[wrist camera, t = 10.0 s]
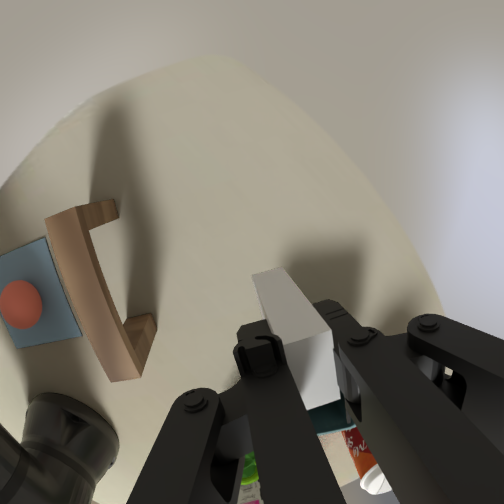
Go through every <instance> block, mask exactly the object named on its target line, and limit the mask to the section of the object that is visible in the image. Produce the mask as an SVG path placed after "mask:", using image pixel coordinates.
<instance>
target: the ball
mask: <svg viewBox="0 0 504 504" xmlns="http://www.w3.org/2000/svg"><path fill="white" fill-rule="evenodd" d="M0 310H1V313H2V315H3V317H4V319H5V320H6V322H7V323H8V324H10V325H11V326H13V327H14V328H17V329H27V328H30V327H32V326H33V325H35V324H36V323H37V321H38V320H39V318H40V316H41V312H42V300H41V297H40V294H39V292H38V291H37V289H36V288H35V287H34V286H33V285H32V284H30V283H29V282H26V281H23V280H16V281H13V282H11V283H9V284H8V285H7V286H6V287H5V288H4V289H3V291H2V293H1V296H0Z"/></svg>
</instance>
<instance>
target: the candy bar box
mask: <svg viewBox="0 0 504 504" xmlns="http://www.w3.org/2000/svg"><path fill="white" fill-rule="evenodd" d="M237 504H264V503H263V498H262V493H261V488H260V482H259V479H258V480H257V481H256V482H253V483H251V484H248V485H241V486H240V491H239V497H238V502H237Z"/></svg>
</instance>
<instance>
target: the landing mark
mask: <svg viewBox="0 0 504 504" xmlns="http://www.w3.org/2000/svg"><path fill="white" fill-rule="evenodd" d="M16 280H23V281H26V282H29V283H30V284H32V285H33V286H34V287H35V288H36V289H37V291H38V292H39V294H40V297H41V300H42V312H41V316H40V318H39V320H38V321H37V323H36V324H35V325H33V326H32V327H30V328H27V329H17V328H14V327H13V326H11V325H10V324H8V323H7V322H6V320H5V319H4V317H3V315H2V313H1V310H0V314H1V316H2V318H3V321H4V323H5V325H6V327H7V329H8V332H9V334H10V336H11V338H12V340H13V342H14V344H15V346H16V348H17V349H18V348H23V347H29V346H34V345H39V344H45V343H50V342H55V341H60V340H65V339H70V338H74V337H79V336H82V333H81V331H80V329H79V327H78V324H77V322H76V320H75V318H74V315H73V313H72V311H71V308H70V306H69V303H68V301H67V298H66V296H65V293H64V291H63V288H62V286H61V283H60V280H59V278H58V275H57V272H56V269H55V266H54V263H53V260H52V257H51V254H50V251H49V248H48V245H47V242H46V238H42V239H40V240H37V241H35V242H32V243H30V244H27V245H25V246H23V247H20V248H18V249H16V250H13V251H11V252H9V253H6V254H4V255H2V256H0V296H1V293H2V291H3V289H4V288H5V287H6V286H7V285H8V284H9V283H11V282H13V281H16Z"/></svg>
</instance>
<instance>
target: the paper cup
mask: <svg viewBox="0 0 504 504" xmlns="http://www.w3.org/2000/svg"><path fill="white" fill-rule="evenodd" d="M341 432H342V435H343V437H344V440H345V442H346V445H347V447H348V449H349V452H350V454H351V457H352V459H353V462H354V464H355V466H356V469H357V471H358V474H359V476H360V479H361V482H360V485H361V487H362V488H363V489H365V490H367V491H368V493H370V494H381V493H385V492H388V491H390V490H392V488H391V487H390V485H389V483H388V481H387V480H386V478H385V476H384V474H383V472H382V471H381V469H380V467H379V465H378V464H377V462H376V460H375V458H374V457H373V455H372V453H371V451H370V450H369V448H368V446H367V444H366V443H365V441H364V439H363V437H362V436H361V434H360V432H359V430H358V428H357V427H355V428H352V429H349V430H344V431H341Z"/></svg>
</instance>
